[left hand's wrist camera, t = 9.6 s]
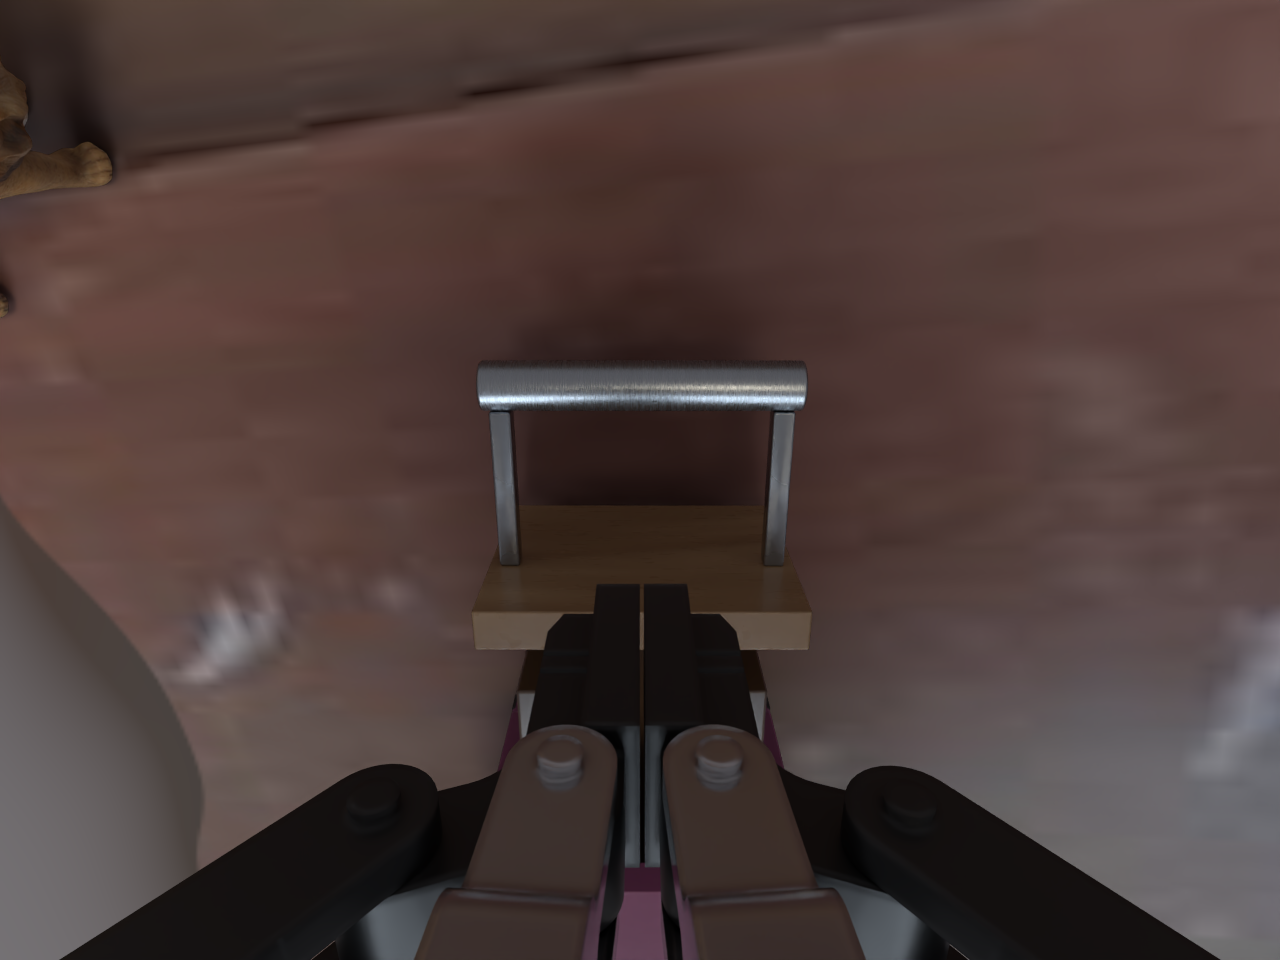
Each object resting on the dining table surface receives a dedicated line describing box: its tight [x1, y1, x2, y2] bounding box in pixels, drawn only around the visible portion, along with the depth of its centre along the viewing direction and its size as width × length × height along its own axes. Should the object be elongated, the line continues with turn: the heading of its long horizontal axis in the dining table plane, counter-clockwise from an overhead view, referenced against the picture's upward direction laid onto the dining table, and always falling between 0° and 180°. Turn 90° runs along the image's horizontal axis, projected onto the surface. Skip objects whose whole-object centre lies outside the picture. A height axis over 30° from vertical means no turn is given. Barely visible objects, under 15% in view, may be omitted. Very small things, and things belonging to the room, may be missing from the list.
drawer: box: [471, 360, 812, 863], centre depth 26 cm, size 26×9×7 cm, turn 0°
